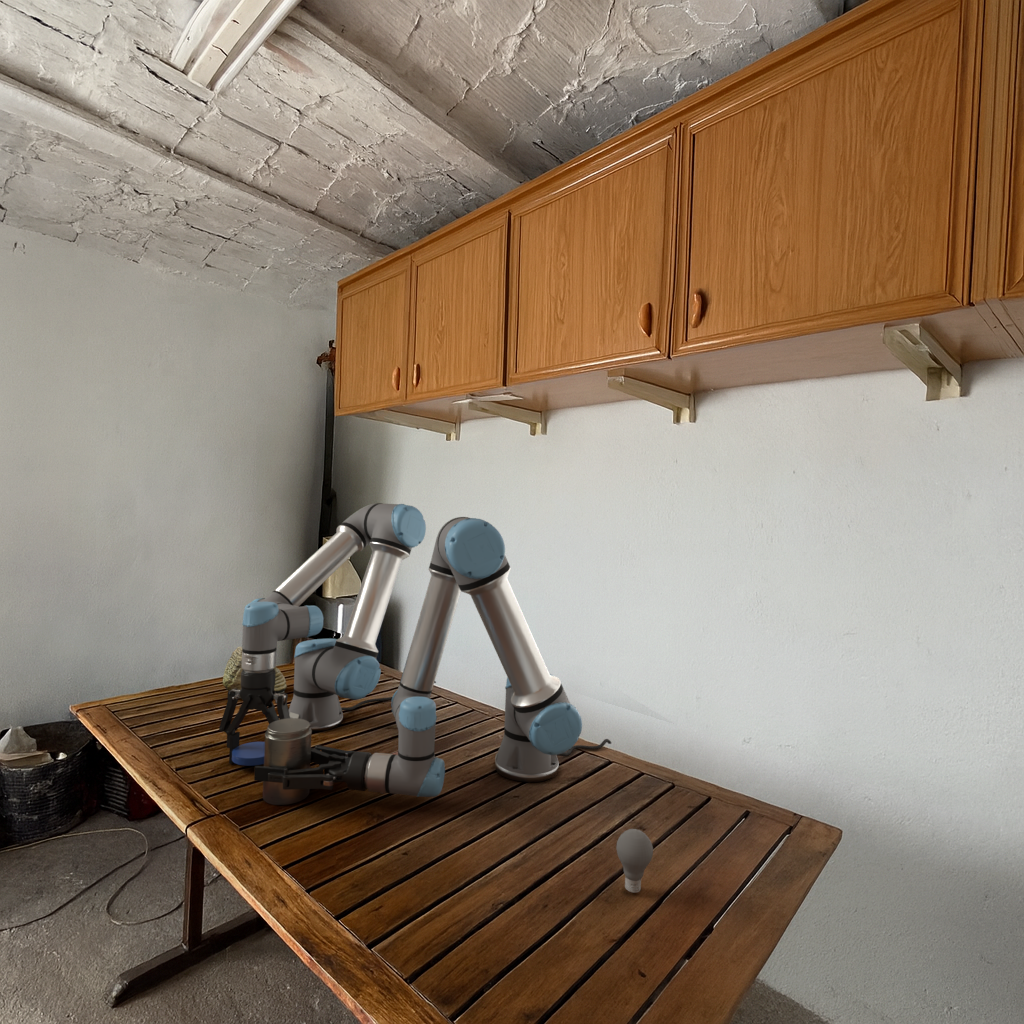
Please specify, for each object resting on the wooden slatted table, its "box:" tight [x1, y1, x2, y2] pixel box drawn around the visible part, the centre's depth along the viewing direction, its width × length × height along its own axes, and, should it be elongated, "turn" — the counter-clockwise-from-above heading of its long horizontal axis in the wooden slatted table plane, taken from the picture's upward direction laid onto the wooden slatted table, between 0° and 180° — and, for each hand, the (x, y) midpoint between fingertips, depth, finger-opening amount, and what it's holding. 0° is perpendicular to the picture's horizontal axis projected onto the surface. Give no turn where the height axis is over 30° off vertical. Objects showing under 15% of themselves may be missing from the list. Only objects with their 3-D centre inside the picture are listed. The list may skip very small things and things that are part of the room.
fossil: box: [222, 646, 288, 699], centre depth 198 cm, size 9×18×15 cm, turn 132°
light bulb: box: [615, 828, 654, 894], centre depth 106 cm, size 6×6×10 cm
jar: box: [262, 718, 313, 806], centre depth 134 cm, size 9×9×15 cm
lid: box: [232, 741, 265, 767], centre depth 148 cm, size 10×10×2 cm
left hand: (254, 763), depth 148 cm, fingers closed on lid, 10 cm apart
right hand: (267, 762), depth 134 cm, fingers closed on jar, 9 cm apart
